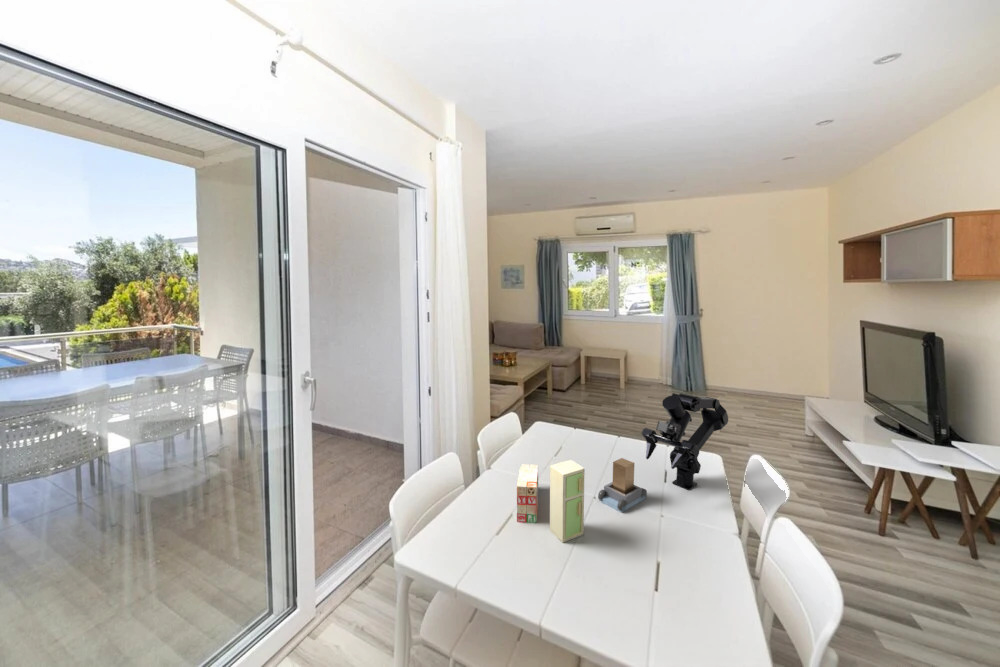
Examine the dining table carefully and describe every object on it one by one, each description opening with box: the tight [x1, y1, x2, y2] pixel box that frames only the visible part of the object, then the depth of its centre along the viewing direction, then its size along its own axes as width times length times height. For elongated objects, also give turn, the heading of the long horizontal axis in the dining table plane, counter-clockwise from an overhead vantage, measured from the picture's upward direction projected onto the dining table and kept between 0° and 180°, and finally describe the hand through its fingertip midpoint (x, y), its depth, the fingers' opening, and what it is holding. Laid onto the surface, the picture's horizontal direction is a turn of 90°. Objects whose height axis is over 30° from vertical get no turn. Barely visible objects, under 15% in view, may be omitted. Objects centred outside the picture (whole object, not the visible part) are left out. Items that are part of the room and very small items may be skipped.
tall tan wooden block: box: [612, 457, 635, 495], centre depth 133 cm, size 5×5×12 cm
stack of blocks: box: [516, 463, 539, 524], centre depth 131 cm, size 21×6×12 cm, turn 173°
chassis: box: [597, 481, 648, 513], centre depth 134 cm, size 15×9×4 cm, turn 127°
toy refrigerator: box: [549, 459, 586, 543], centre depth 114 cm, size 8×7×21 cm
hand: (659, 463), depth 131 cm, fingers open, 9 cm apart
